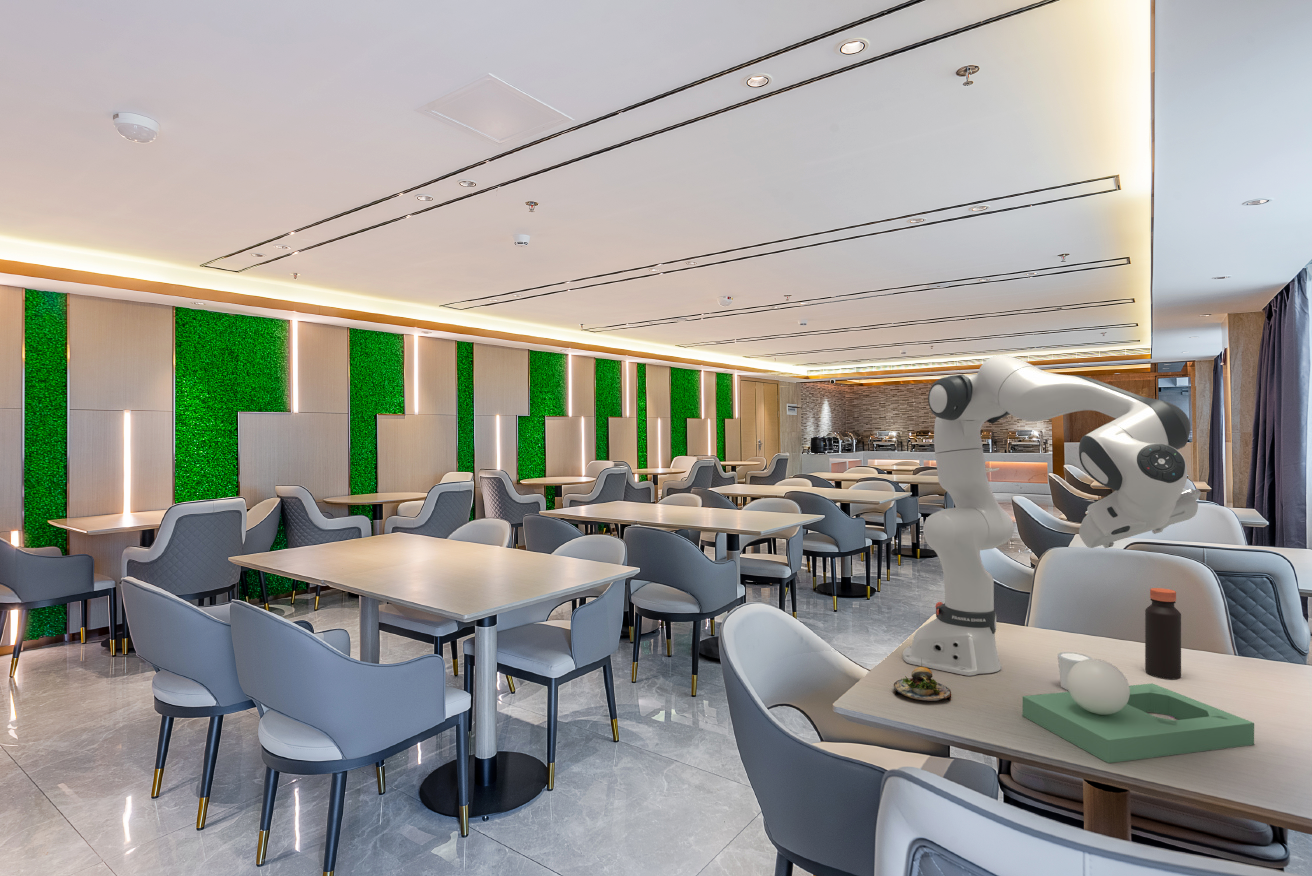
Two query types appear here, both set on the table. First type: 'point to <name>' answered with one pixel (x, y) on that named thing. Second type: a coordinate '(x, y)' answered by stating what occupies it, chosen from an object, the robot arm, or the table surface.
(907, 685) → the burger
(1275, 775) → the table surface
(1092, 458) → the robot arm
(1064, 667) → the white cup
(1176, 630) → the bottle
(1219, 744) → the green cutout tray
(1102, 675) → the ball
